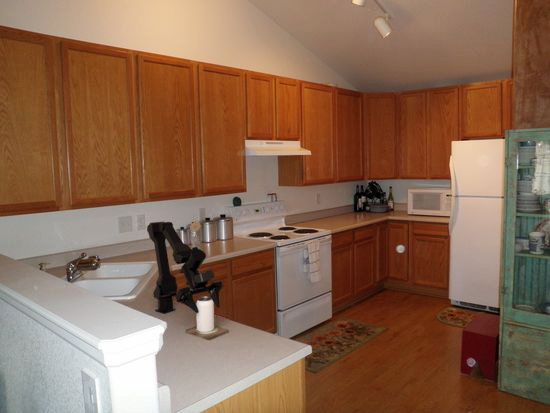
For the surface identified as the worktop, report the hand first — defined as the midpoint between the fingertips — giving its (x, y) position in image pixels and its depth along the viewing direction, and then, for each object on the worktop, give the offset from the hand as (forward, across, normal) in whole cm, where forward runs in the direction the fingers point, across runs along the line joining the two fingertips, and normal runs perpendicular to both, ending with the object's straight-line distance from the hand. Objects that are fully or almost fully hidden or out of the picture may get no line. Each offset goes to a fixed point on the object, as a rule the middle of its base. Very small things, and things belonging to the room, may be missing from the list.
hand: (208, 309), depth 166 cm
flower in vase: (-89, +74, +102) cm, 154 cm away
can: (+5, -1, +7) cm, 8 cm away
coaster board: (+5, 0, +7) cm, 9 cm away
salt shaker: (-79, +67, +92) cm, 138 cm away
